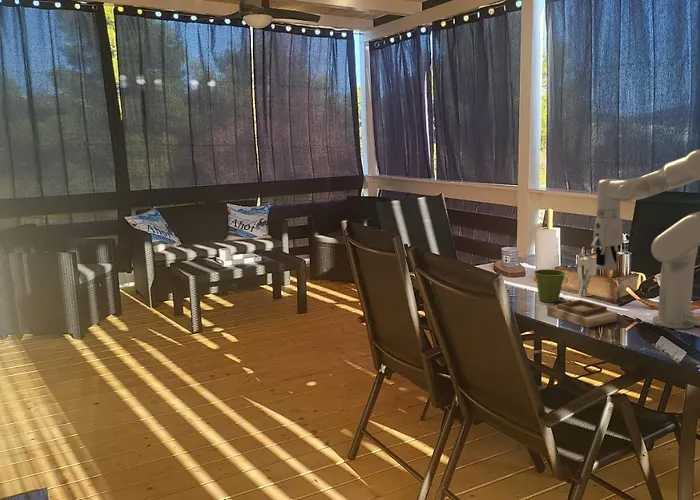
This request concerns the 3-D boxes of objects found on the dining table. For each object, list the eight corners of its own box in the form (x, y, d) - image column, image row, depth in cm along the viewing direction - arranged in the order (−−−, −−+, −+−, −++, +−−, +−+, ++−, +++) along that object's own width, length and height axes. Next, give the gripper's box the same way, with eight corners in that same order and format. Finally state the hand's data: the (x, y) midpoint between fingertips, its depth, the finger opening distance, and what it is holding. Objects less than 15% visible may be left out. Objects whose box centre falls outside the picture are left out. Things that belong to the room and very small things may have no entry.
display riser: (616, 321, 209) (617, 308, 209) (587, 327, 203) (588, 314, 202) (575, 309, 225) (575, 297, 224) (547, 314, 219) (547, 302, 218)
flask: (595, 270, 218) (596, 243, 216) (594, 266, 225) (595, 239, 223) (617, 271, 216) (619, 243, 214) (615, 267, 223) (617, 240, 221)
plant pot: (571, 303, 233) (572, 274, 231) (542, 305, 231) (543, 276, 229) (554, 295, 245) (555, 268, 243) (527, 297, 242) (528, 270, 240)
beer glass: (597, 296, 241) (599, 259, 238) (580, 297, 241) (581, 260, 238) (591, 292, 248) (592, 256, 245) (574, 292, 248) (575, 256, 245)
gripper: (599, 216, 210) (597, 268, 213) (634, 212, 217) (631, 262, 220) (582, 214, 216) (580, 265, 220) (616, 211, 224) (614, 259, 227)
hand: (606, 263), depth 220 cm, fingers closed on flask, 5 cm apart
